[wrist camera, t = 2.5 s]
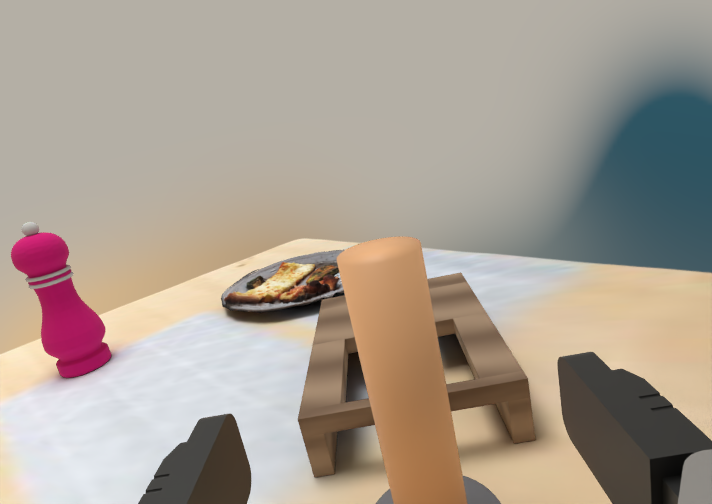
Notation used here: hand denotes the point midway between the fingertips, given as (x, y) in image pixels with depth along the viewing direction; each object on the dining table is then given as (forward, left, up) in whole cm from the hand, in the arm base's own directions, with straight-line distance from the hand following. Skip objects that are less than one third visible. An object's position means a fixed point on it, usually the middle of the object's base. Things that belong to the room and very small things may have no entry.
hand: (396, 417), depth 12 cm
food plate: (-38, -50, -18) cm, 65 cm away
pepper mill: (-9, -62, -17) cm, 65 cm away
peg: (-9, -7, -17) cm, 21 cm away
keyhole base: (-23, -19, -17) cm, 34 cm away
